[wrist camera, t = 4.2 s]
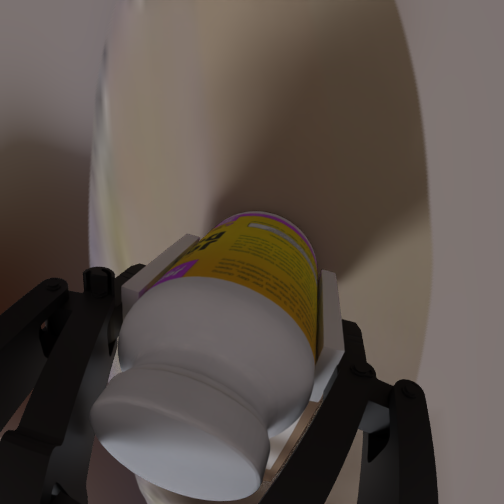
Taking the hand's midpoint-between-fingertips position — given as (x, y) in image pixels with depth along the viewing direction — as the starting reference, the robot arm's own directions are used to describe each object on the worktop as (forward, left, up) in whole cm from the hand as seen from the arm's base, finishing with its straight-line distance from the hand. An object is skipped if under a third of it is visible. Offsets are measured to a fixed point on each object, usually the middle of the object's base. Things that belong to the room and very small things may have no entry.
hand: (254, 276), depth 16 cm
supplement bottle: (0, 0, -2) cm, 2 cm away
